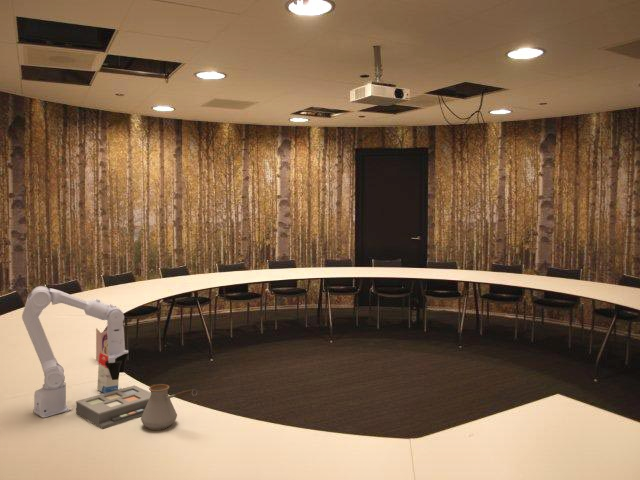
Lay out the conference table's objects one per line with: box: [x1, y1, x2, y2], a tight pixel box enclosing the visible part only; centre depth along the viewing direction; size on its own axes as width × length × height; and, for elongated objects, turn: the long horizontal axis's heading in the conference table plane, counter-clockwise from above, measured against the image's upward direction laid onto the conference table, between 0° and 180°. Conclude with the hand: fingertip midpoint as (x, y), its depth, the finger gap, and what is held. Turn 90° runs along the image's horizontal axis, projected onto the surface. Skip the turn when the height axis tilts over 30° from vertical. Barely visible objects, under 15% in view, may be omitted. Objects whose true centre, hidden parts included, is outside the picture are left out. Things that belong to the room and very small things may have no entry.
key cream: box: [106, 401, 121, 407], centre depth 176 cm, size 4×4×2 cm
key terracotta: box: [122, 396, 138, 404], centre depth 181 cm, size 4×4×2 cm
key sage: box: [88, 399, 103, 405], centre depth 177 cm, size 4×4×2 cm
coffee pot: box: [140, 383, 198, 431], centre depth 167 cm, size 21×12×15 cm, turn 62°
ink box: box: [96, 353, 119, 394], centre depth 199 cm, size 8×5×15 cm, turn 47°
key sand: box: [106, 395, 121, 404], centre depth 182 cm, size 4×4×2 cm
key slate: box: [121, 390, 136, 399], centre depth 187 cm, size 4×4×2 cm
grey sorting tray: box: [75, 384, 151, 430], centre depth 180 cm, size 22×18×4 cm
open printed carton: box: [95, 327, 109, 363], centre depth 238 cm, size 11×7×15 cm, turn 179°
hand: (118, 375), depth 189 cm, fingers open, 7 cm apart
